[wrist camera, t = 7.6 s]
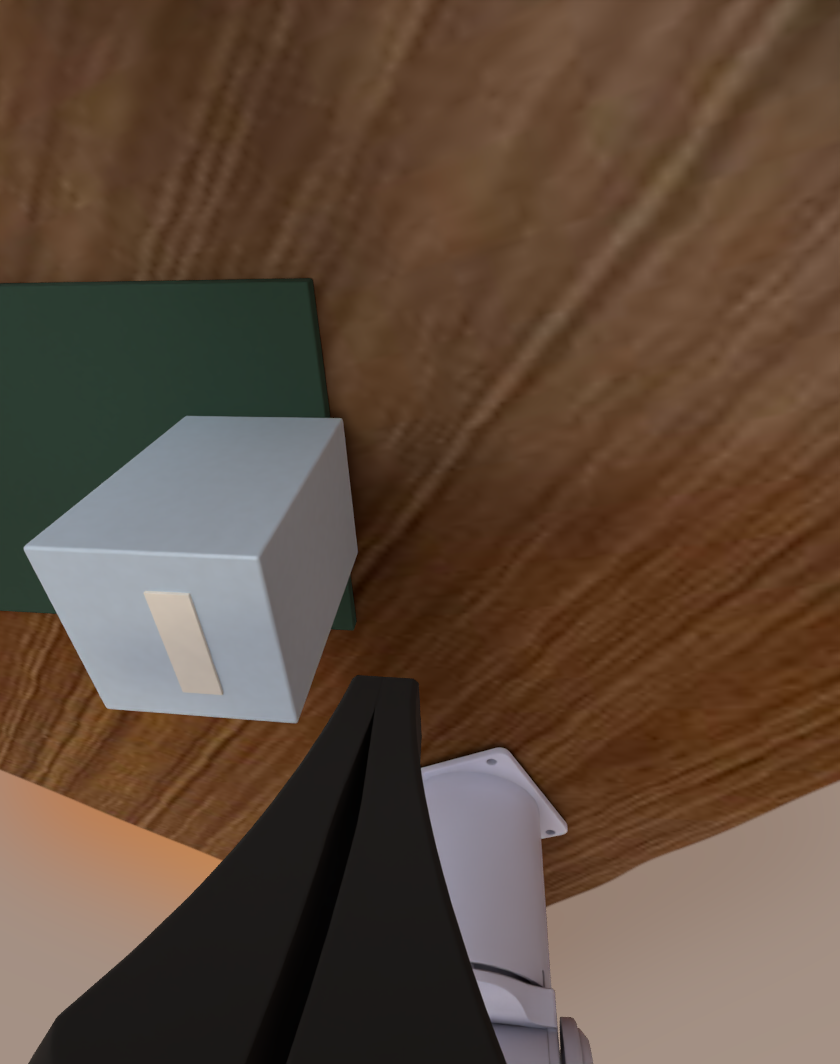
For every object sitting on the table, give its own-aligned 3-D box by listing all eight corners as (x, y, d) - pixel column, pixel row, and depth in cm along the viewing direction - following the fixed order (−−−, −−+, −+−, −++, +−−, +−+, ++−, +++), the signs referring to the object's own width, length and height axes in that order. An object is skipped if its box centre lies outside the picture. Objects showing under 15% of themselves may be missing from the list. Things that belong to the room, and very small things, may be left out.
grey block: (257, 559, 12) (17, 549, 12) (297, 727, 15) (103, 712, 15) (343, 417, 18) (185, 414, 19) (358, 552, 21) (222, 547, 22)
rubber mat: (312, 278, 17) (307, 281, 16) (357, 621, 24) (354, 631, 24) (-252, 287, 19) (-273, 290, 18) (-49, 599, 27) (-59, 607, 26)
